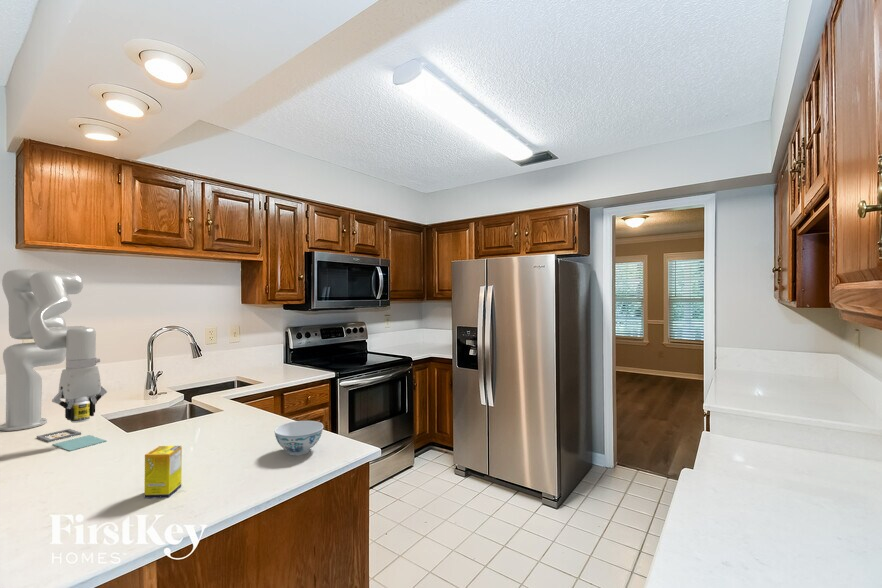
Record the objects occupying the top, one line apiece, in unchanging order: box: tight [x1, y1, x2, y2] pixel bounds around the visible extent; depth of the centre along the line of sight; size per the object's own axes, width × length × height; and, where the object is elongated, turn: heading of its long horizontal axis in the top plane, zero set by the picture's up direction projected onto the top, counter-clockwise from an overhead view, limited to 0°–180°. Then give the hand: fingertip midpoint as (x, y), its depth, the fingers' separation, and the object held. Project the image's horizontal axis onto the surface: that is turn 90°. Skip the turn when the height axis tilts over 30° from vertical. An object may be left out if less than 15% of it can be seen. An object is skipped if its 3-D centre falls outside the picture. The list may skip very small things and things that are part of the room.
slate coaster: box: [36, 428, 82, 443], centre depth 143 cm, size 9×9×1 cm
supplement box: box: [144, 445, 183, 499], centre depth 103 cm, size 6×6×11 cm
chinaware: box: [274, 420, 324, 456], centre depth 131 cm, size 15×15×8 cm
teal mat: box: [52, 434, 107, 452], centre depth 137 cm, size 12×10×1 cm
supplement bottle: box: [70, 397, 91, 424], centre depth 137 cm, size 5×5×8 cm
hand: (80, 417), depth 137 cm, fingers closed on supplement bottle, 4 cm apart
